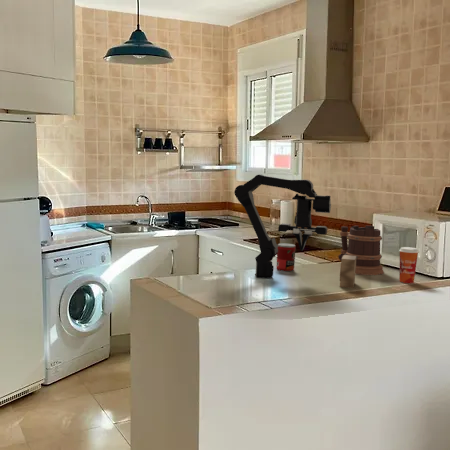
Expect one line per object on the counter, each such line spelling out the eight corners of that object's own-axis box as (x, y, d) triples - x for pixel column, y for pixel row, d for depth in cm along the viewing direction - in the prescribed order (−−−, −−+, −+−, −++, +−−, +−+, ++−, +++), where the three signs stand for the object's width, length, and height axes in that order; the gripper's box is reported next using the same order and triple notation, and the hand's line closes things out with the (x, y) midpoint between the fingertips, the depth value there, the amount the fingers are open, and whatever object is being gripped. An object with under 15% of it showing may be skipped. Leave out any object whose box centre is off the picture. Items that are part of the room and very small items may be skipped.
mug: (351, 264, 278) (354, 222, 275) (392, 272, 260) (395, 228, 258) (325, 267, 266) (328, 223, 264) (366, 276, 248) (369, 229, 246)
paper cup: (395, 282, 239) (397, 248, 237) (398, 279, 245) (401, 246, 244) (414, 284, 235) (417, 250, 233) (418, 281, 242) (420, 248, 240)
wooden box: (338, 286, 225) (340, 258, 224) (341, 282, 234) (342, 254, 233) (352, 288, 223) (354, 259, 222) (354, 283, 233) (356, 256, 232)
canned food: (288, 271, 251) (289, 246, 250) (272, 269, 256) (274, 244, 255) (297, 269, 257) (298, 245, 256) (282, 267, 262) (283, 242, 261)
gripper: (329, 211, 236) (327, 249, 238) (284, 208, 241) (282, 246, 243) (326, 213, 225) (324, 253, 227) (279, 210, 231) (277, 249, 232)
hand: (301, 250), depth 233 cm, fingers closed
